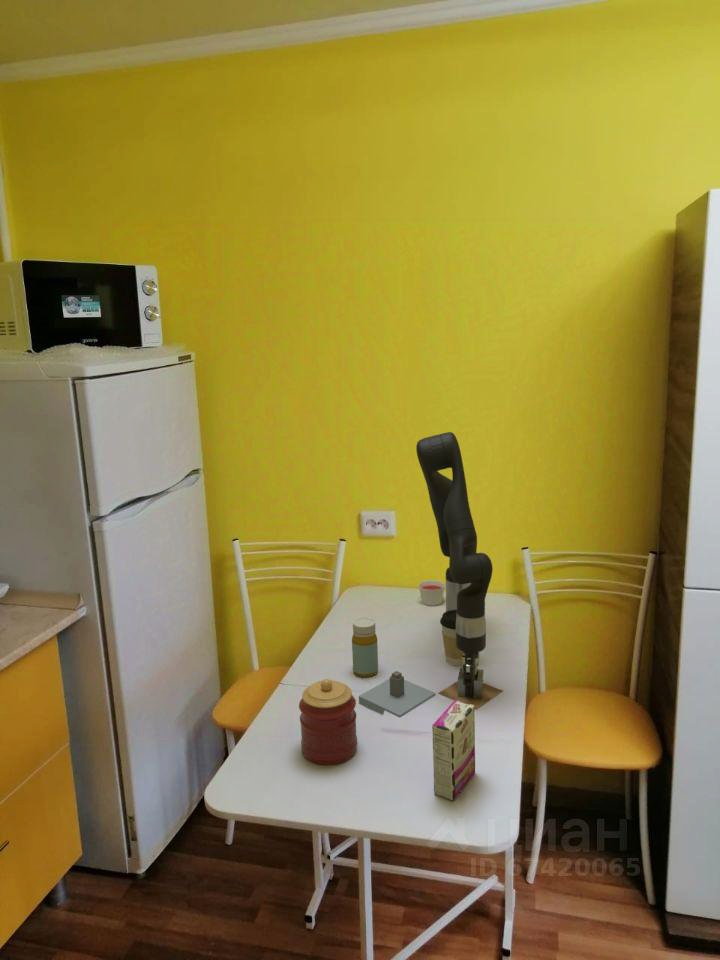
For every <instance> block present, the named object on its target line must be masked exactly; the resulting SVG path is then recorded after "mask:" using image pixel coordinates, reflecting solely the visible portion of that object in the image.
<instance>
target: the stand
mask: <svg viewBox="0 0 720 960" xmlns="http://www.w3.org/2000/svg"><path fill="white" fill-rule="evenodd" d="M474 678H475V676H474ZM503 692H504V690H502V689H500V688H497V687H494V686H492V685H490V684H487V683H485V682H483V693H482V699H475V698H464V697H458V680H457V681H455V682H454V683H452V684H451V685H449V686H447V687H445V688H444V689H443V690H440V691H439V692H438V693H437V694H438V695H441V696H443V697H445V698H448V699H450V700H452V701H454V700H457V701H460V702H464V703H468V704H472V705H474V710H475V711H477V710H479V709H480V708H481V707H482V706H484V705H485V704H487V703H489V702H490V701H491V700H493V699H494V698H496V697H497V696H498V695H501V693H503Z"/></svg>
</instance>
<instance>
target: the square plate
mask: <svg viewBox="0 0 720 960" xmlns="http://www.w3.org/2000/svg"><path fill="white" fill-rule="evenodd" d="M436 694H437V693H436V692H434V691H432V690H429V689H427V688H425V687H422V686H420V685H417V684H415V683H413V682H410V681H408V680H405V676H403V675H402V672H400V671H398V670H394V671H393V672H391V676H389V678H388V679H387V680H385V681H383V682H381V683H379V684H378V685H376V686H374V687H372V688H370V689H369V690H367V691H365V692H363V693H361V694H359V695H358V704H360V705H363V706H364V707H366V708H368V709H371V710H372V711H374V712H376V713H378V714H380V715H384V714H385V712H388V713H390V714H392V715H394V716H396V717H398V718H401V717H403V716H405V715H406V714H407V713H410V712H411V711H412V710H414V709H416V708H417V707H419V706H421V705H422V704H423V703H426V701H429V700H430V699H432V698H433V697H434V696H436Z"/></svg>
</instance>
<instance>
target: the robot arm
mask: <svg viewBox="0 0 720 960" xmlns="http://www.w3.org/2000/svg"><path fill="white" fill-rule="evenodd" d="M457 438H458V437H456V435H455V433H453V432H451V431H447V432H442V433H439V434H435V435H432V436H431V435H430V436H427V437H423V438H422V439H419V440H418V441H417V443H416V447H415V448H416V455H417V460H418V463H419V465H420V469H421V472H422V474H423V478H424V481H425V483H426V488H427V491H428V495H429V496H428V497H429V501H430V504H431V508H432V509H431V510H432V512H433V515H434V518H435V521H436V526H437V533H438V538H439V540H438V541H439V546H440V550H441V552H442V555H444V557H446V558H449V564H448V565H449V567H447V568H446V571H445V612H447V611H450V610H457V617H456V647H457V648H458V649H459V650H461V651H463V656H462V662H463V666H462V668H463V685H465V696H466V697H473V696H474V683H475V681H474V676H475V675H476V674H477V669H478V666H479V660H480V659H479V657H480V652H483V651H484V650H485V648H486V646H487V643H486V642H487V640H486V639H487V638H486V636H487V622H486V621H487V620H486V597H487V593H488V589H489V586H490V583H491V579H492V576H493V562H492V560H491V558H490V557H489V555H488V554H486V553H484V552H478V551H477V549H478V535H477V531H476V527H475V524H474V520H473V516H472V512H471V509H470V502H469V496H468V495H469V494H468V489H467V488H468V487H467V481H466V476H465V475H466V474H465V468H464V463H463V459H462V453H461V448H460V445H459V444H460V443H459V441H458V439H457ZM447 469H451V471H452V479H450V478H449V477H447V476H445V475H443V474H442V473H440V472H439V471H443V470H447ZM473 670H474V671H473ZM467 678H471V679H467Z"/></svg>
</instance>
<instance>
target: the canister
mask: <svg viewBox="0 0 720 960" xmlns="http://www.w3.org/2000/svg"><path fill="white" fill-rule="evenodd" d="M301 697H302V698H301V699H300V700H299V703H298V709H299V711H300V716H299V722H300V730H301V731H300V733H301V734H300V735H301V739H300V746H301V750H302V754H303V756H304V757H305V758H306V760H308V761H310V762H312V763H314V764H317V765H323V766H331V765H337V764H341V763H344V762H346V761H348V760H350V759H351V758H352V757H353V756H354V755H355V753H356V751H357V746H358V736H357V712H356V710H355V708H356V705H357V701H356V698H355V696H354V695H353V692H352V689H351V687H350V686H348V685H347V684H345V683H343V682H341V681H338V680H334V679H329V678H325V679H322V680H319V681H316V682H314V683H312V684H310V685H309V686H307V687H306V688H305V689H304V690H303V691H302V694H301Z"/></svg>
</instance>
